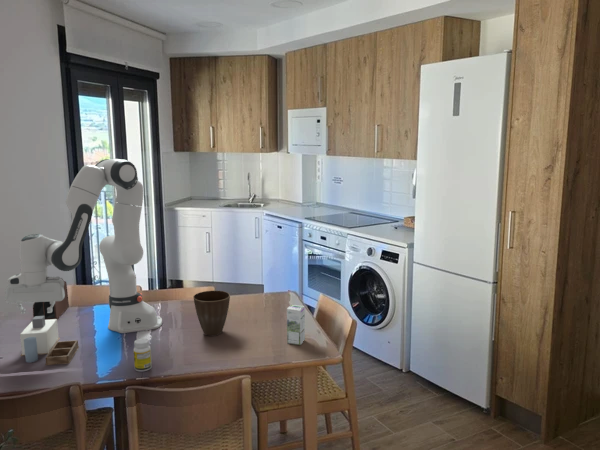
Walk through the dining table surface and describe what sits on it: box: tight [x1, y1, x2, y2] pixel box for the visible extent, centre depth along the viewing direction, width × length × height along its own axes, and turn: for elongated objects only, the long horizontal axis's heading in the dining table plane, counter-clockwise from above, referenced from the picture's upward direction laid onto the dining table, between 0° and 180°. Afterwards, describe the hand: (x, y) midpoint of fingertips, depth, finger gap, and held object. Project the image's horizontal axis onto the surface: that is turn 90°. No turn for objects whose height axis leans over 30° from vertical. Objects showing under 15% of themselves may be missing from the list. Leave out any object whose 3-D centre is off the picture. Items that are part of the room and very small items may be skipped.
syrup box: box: [286, 304, 306, 346], centre depth 205 cm, size 6×6×14 cm
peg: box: [24, 337, 39, 363], centre depth 188 cm, size 4×4×9 cm
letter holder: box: [32, 280, 70, 320], centre depth 241 cm, size 10×20×14 cm, turn 9°
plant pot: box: [193, 290, 231, 337], centre depth 216 cm, size 15×15×16 cm
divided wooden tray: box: [44, 339, 80, 366], centre depth 192 cm, size 8×15×4 cm, turn 11°
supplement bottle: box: [133, 338, 152, 372], centre depth 183 cm, size 6×6×10 cm
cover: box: [19, 316, 60, 355], centre depth 200 cm, size 9×15×12 cm, turn 11°
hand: (36, 312), depth 198 cm, fingers open, 8 cm apart
